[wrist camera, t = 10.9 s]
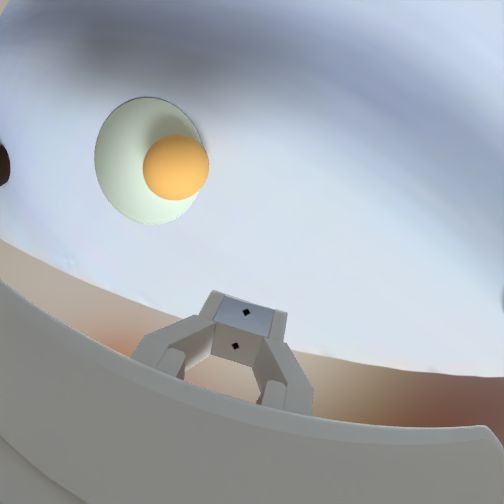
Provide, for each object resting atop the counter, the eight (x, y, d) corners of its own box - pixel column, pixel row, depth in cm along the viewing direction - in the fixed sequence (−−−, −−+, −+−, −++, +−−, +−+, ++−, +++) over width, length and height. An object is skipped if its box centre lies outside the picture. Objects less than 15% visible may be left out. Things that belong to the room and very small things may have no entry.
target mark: (82, 178, 27) (81, 178, 27) (129, 75, 21) (128, 75, 20) (163, 247, 29) (162, 248, 29) (232, 147, 23) (231, 148, 22)
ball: (177, 201, 18) (215, 205, 24) (190, 124, 18) (225, 143, 23) (124, 196, 20) (166, 199, 25) (135, 129, 19) (174, 143, 25)
